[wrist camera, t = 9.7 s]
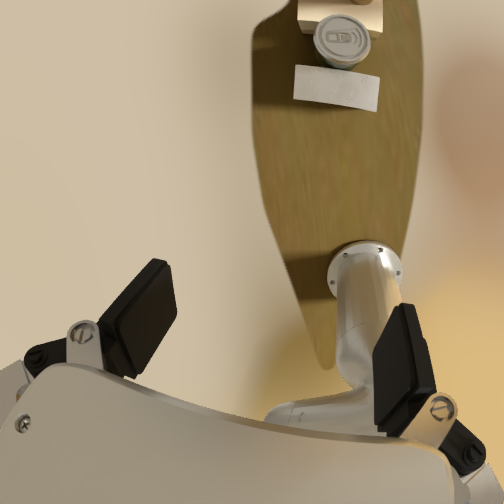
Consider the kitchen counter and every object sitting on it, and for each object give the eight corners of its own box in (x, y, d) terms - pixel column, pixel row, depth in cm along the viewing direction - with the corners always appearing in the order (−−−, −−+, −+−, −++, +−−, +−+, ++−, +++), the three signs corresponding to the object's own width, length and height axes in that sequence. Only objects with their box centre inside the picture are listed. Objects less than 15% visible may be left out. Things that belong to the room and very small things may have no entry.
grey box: (366, 109, 31) (376, 111, 25) (298, 98, 32) (293, 98, 27) (369, 81, 29) (379, 77, 23) (300, 70, 30) (295, 64, 25)
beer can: (317, 74, 30) (315, 63, 20) (313, 37, 27) (309, 11, 17) (358, 75, 29) (375, 65, 19) (355, 38, 26) (368, 13, 16)
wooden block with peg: (371, 43, 26) (398, 16, 14) (302, 33, 27) (289, -1, 16) (372, 6, 22) (395, -35, 11) (303, -4, 24) (291, -50, 12)
